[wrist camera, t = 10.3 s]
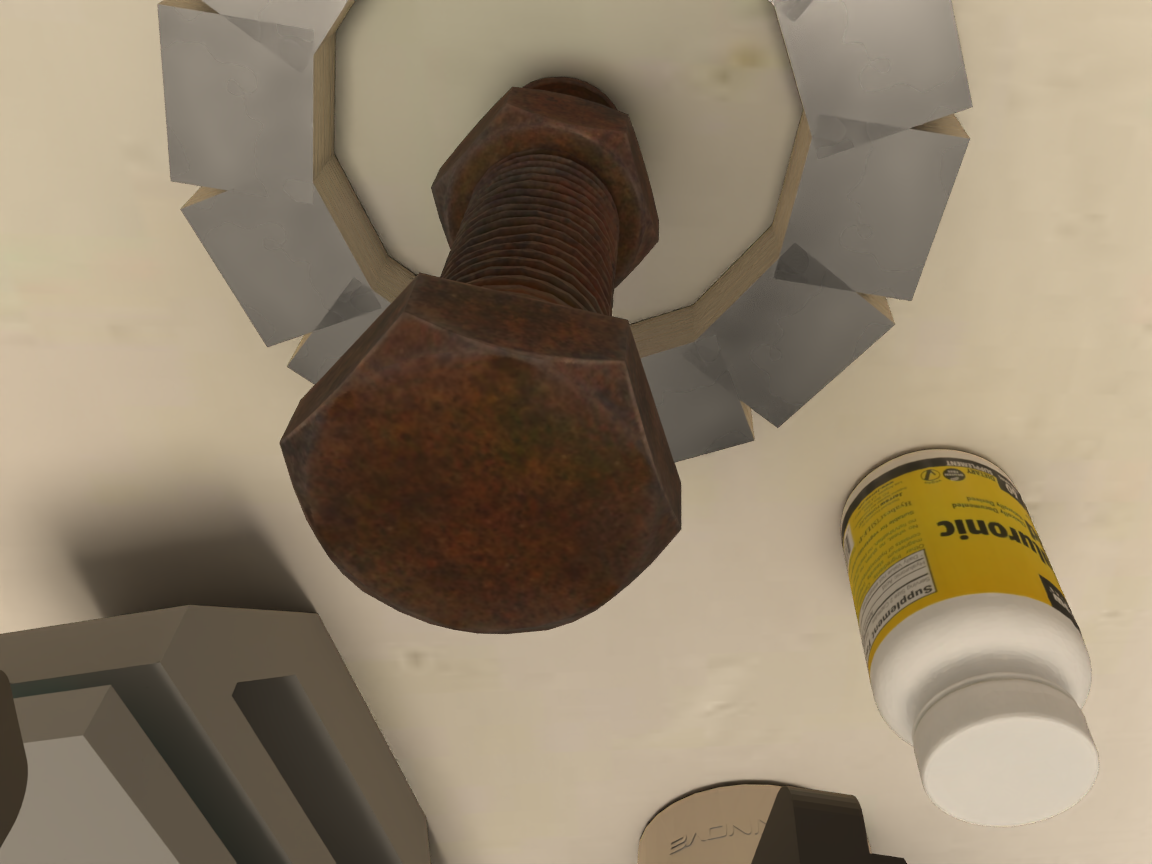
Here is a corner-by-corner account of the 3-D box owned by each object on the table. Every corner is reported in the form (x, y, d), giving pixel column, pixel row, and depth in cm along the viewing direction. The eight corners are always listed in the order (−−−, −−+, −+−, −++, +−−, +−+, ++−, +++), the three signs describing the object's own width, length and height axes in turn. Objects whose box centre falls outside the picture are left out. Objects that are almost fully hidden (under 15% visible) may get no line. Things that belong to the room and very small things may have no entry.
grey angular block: (476, 912, 48) (432, 1198, 39) (311, 927, 49) (232, 1205, 40) (235, 457, 34) (83, 735, 25) (19, 497, 36) (-198, 772, 27)
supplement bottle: (1059, 497, 33) (1186, 764, 25) (932, 604, 36) (1010, 875, 27) (921, 410, 31) (1009, 663, 23) (801, 528, 34) (842, 791, 26)
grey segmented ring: (1004, 327, 30) (1024, 365, 28) (402, 499, 34) (389, 541, 33) (833, -497, 20) (848, -512, 19) (39, -100, 25) (-4, -84, 23)
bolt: (567, -29, 25) (470, 249, 13) (718, 119, 27) (760, 491, 15) (415, 147, 28) (214, 517, 16) (561, 272, 30) (485, 695, 17)
